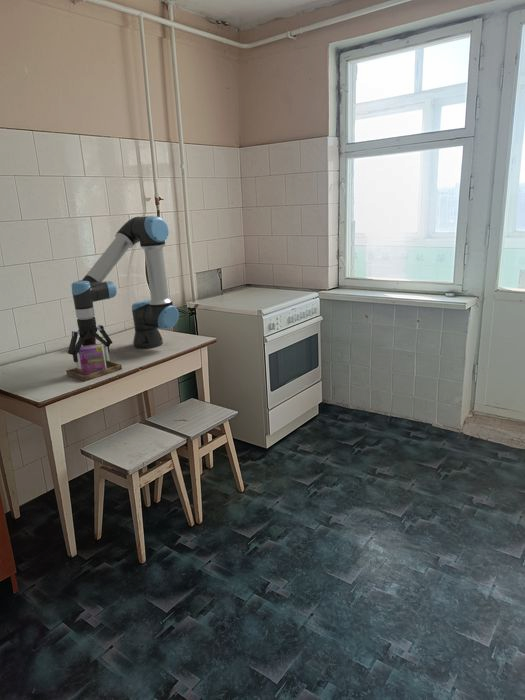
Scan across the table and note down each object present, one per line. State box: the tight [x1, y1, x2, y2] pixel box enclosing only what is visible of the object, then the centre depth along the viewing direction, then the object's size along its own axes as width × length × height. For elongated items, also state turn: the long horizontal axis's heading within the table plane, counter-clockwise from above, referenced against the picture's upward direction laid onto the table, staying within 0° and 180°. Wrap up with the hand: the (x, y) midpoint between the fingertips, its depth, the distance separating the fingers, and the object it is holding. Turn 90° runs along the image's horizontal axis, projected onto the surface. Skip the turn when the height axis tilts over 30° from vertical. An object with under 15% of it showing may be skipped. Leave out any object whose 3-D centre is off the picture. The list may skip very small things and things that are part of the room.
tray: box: [66, 360, 123, 382], centre depth 220 cm, size 19×15×2 cm
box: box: [77, 343, 107, 375], centre depth 219 cm, size 10×6×12 cm, turn 105°
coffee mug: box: [77, 328, 97, 346], centre depth 261 cm, size 12×9×10 cm
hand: (93, 364), depth 219 cm, fingers open, 13 cm apart
